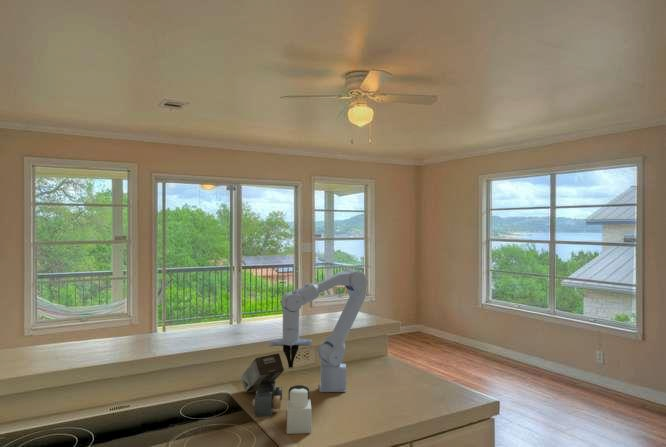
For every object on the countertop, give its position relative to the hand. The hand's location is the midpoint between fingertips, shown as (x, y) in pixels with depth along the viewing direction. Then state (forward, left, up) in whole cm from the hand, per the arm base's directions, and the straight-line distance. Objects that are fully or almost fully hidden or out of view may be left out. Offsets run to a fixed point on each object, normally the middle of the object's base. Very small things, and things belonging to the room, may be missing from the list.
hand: (290, 366), depth 157 cm
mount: (+8, +10, -10) cm, 16 cm away
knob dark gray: (+7, +7, -9) cm, 13 cm away
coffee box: (+14, -6, -8) cm, 17 cm away
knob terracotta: (+7, +13, -9) cm, 17 cm away
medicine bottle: (-4, +25, -10) cm, 27 cm away
